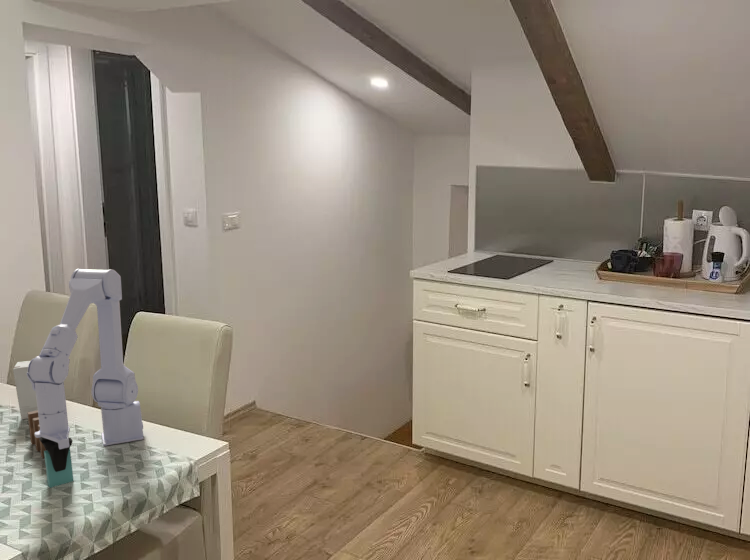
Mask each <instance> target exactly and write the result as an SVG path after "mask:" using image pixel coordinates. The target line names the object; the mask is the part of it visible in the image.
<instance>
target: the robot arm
mask: <svg viewBox="0 0 750 560" xmlns="http://www.w3.org/2000/svg"><path fill="white" fill-rule="evenodd" d="M68 288H69V292H70V295H69V298H68V300H67V302H66V306H65V308H64V312H63V314H62V317H61V319H60V322H59V324H57V325H55V326H53V327H51V329H50V331H49V333H48V335H47V338H46V340H45V341H44V345H43V346H42V348H41V351H40V353H39V355H37V356H35V357H34V358H32V359H31V360H29V361H30V363H29V366H28V372H27V377H28V379H29V381H30V382H31V383H32V389H33V390H34V391H36V400H37V409H38V417H39V425H40V431H38V432H35V433H34V435H35V437H36V438H39V437H40V438H39V440H40V441H41V442H42V444H43V446H44V447H45V449H46V450H47V451H48V452H49V455H50V457H51V461H52V464H53V467H54V470H55V471H56V472H58V471H62V470H65V469H66V463H67V456H68V452H69V449H70V450H71V447H72V444H73V439H72V437H69V435H70V430H71V427H70V425H69V418H68V409H67V399H66V393H65V392H66V390H65V382H64V381H66V379H67V377H68V376H69V369H70V368H69V367H70V356H71V353H72V351H73V349H74V347H75V344H76V343H77V340H78V333H77V332H76V329H77V328H78V326H79V325H80V322H81V321H82V319H83V317H84V316H85V313H86V312H87V310H88V308H89V306H90V305H91V304H94V305H95V306H96V311H97V327H98V340H99V355H100V356H99V357H100V368H99V369H98V370H97V371H95V373H94V374H93V376H92V384H91V385H92V386H91V388H90V389H91V392H90V393H91V397H92V399H93V401H94V402H95V403H97V406H98V407H100V411H101V412H100V413H101V422H102V432H101V439H102V445H103V446H104V447H107V446H111V445H112V446H113V445H117V444H123V443H129V442H135V441H141V440H143V439H144V431H143V430H144V424H143V423H144V422H143V420H142V417H143V416H142V408H141V402H140V400H137V398H138V393H139V386H138V383H137V381H136V376H135V372H134V371H133V370H131V369H130V368H128V367H127V366H126V365H125V364H124V355H123V354H124V353H123V352H124V351H123V337H122V323H121V321H122V320H121V307H120V306H121V305H120V303H121V302H120V301H122V300H123V294H122V293H123V292H122V291H123V290H122V289H123V288H122V277H121V275H120V274H119V273H118V272H117V271H116V270H115V269H111V268H110V269H88V268H87V269H85V268H76V269H74V270H73V272H72V273H71V276H70V279H69V281H68ZM68 437H69V438H68Z"/></svg>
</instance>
